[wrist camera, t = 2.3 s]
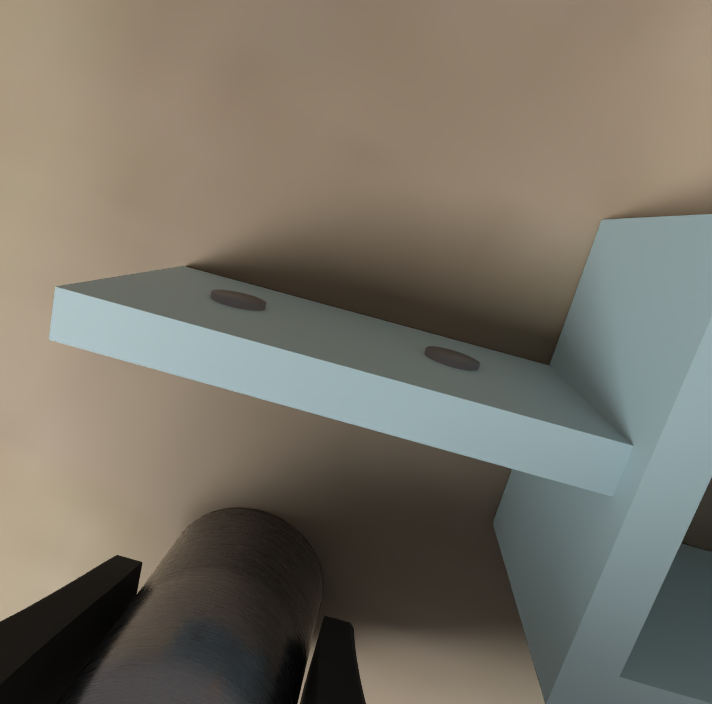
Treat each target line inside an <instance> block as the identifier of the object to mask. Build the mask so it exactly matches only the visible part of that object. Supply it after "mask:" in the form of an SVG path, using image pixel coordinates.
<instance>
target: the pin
mask: <svg viewBox="0 0 712 704" xmlns="http://www.w3.org/2000/svg"><path fill="white" fill-rule="evenodd" d="M322 594H323V576H322V571H321V567H320V563H319V561H318V558H317V556H316V554H315V552H314V551H313V549H312V547H311V546H310V544H309V543H308V542H307V540H306V539H305V538H304V537H303V536H302V535H301V534H300V533H299V532H298V531H297V530H296V529H295V528H293V527H292V526H291V525H290V524H288V523H286V522H285V521H283V520H282V519H280V518H278V517H276V516H274V515H271V514H269V513H266V512H263V511H259V510H254V509H247V508H228V509H222V510H218V511H214V512H211V513H209V514H207V515H204V516H202V517H201V518H199V519H197V520H196V521H194V522H193V523H192V524H191V525H190V526H188V527H187V528H186V530H185V531H184V532H183V533H182V534H181V536H180V537H179V538H178V540H177V541H176V542H175V544H174V545H173V546H172V548H171V549H170V550H169V552H168V553H167V554H166V556H165V557H164V559H163V560H162V561H161V563H160V564H159V565H158V567H157V568H156V569H155V571H154V572H153V573H152V575H151V576H150V577H149V579H148V580H147V581H146V583H145V584H144V586H143V587H142V588H141V590H140V591H139V592H138V594H137V595H136V596H135V598H134V599H133V600H132V602H131V603H130V604H129V606H128V607H127V609H126V610H125V611H124V613H123V614H122V615H121V617H120V618H119V619H118V621H117V622H116V623H115V625H114V626H113V627H112V629H111V630H110V631H109V633H108V634H107V636H106V637H105V638H104V640H103V641H102V642H101V644H100V645H99V646H98V648H97V649H96V650H95V652H94V653H93V654H92V656H91V657H90V659H89V660H88V661H87V663H86V664H85V665H84V667H83V668H82V669H81V671H80V672H79V673H78V675H77V676H76V677H75V679H74V680H73V681H72V683H71V684H70V686H69V687H68V688H67V690H66V691H65V692H64V694H63V695H62V696H61V698H60V699H59V700H58V702H57V703H56V704H297V703H298V699H299V694H300V690H301V686H302V681H303V677H304V673H305V668H306V664H307V660H308V655H309V651H310V647H311V642H312V638H313V634H314V629H315V625H316V621H317V616H318V612H319V608H320V603H321V599H322Z"/></svg>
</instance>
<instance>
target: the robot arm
mask: <svg viewBox="0 0 712 704" xmlns="http://www.w3.org/2000/svg"><path fill="white" fill-rule="evenodd" d="M141 567H142V562H140V561H136V560H133V559H129V558H126V557H122V556H119V555H116V556H115V557H113V558H111V559H109V560H107V561H106V562H104V563H102V564H101V565H99V566H97V567H96V568H94V569H92V570H91V571H89V572H87V573H86V574H84V575H82V576H81V577H79V578H78V579H76V580H74V581H72V582H71V583H69V584H67V585H66V586H64V587H62V588H61V589H59V590H57V591H55V592H54V593H52V594H50V595H48V596H47V597H45V598H43V599H41V600H40V601H38V602H36V603H34V604H33V605H31V606H29V607H27V608H25V609H24V610H22V611H20V612H18V613H16V614H14V615H12V616H10V617H8V618H6V619H4V620H3V621H1V622H0V704H56V703H57V702H58V700H59V699H60V698H61V696H62V695H63V694H64V692H65V691H66V690H67V688H68V687H69V686H70V684H71V683H72V681H73V680H74V679H75V677H76V676H77V675H78V673H79V672H80V671H81V669H82V668H83V667H84V665H85V664H86V663H87V661H88V660H89V659H90V657H91V656H92V654H93V653H94V652H95V650H96V649H97V648H98V646H99V645H100V644H101V642H102V641H103V640H104V638H105V637H106V636H107V634H108V633H109V631H110V630H111V629H112V627H113V626H114V625H115V623H116V622H117V621H118V619H119V618H120V617H121V615H122V614H123V613H124V611H125V610H126V609H127V607H128V606H129V604H130V603H131V602H132V600H133V599H134V598H135V596H136V595H137V589H138V584H139V578H140V573H141ZM300 704H366V703H365V698H364V694H363V690H362V685H361V680H360V675H359V669H358V663H357V657H356V650H355V640H354V628H353V626H352V624H351V623H349V622H346V621H342V620H339V619H336V618H332V617H329V616H325V615H324V619H323V622H322V626H321V629H320V633H319V636H318V640H317V643H316V647H315V650H314V654H313V657H312V661H311V664H310V668H309V671H308V675H307V678H306V682H305V685H304V689H303V693H302V697H301V702H300Z"/></svg>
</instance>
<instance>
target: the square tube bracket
mask: <svg viewBox="0 0 712 704" xmlns="http://www.w3.org/2000/svg"><path fill="white" fill-rule="evenodd" d="M49 340H52V341H55V342H59V343H62V344H66V345H70V346H73V347H77V348H80V349H84V350H88V351H91V352H95V353H98V354H102V355H105V356H109V357H113V358H116V359H120V360H123V361H127V362H131V363H134V364H138V365H141V366H145V367H149V368H152V369H156V370H159V371H163V372H166V373H170V374H174V375H177V376H181V377H184V378H188V379H192V380H195V381H199V382H202V383H206V384H210V385H213V386H217V387H220V388H224V389H227V390H231V391H235V392H238V393H242V394H245V395H249V396H253V397H256V398H260V399H263V400H267V401H271V402H274V403H278V404H281V405H285V406H288V407H292V408H296V409H299V410H303V411H306V412H310V413H314V414H317V415H321V416H324V417H328V418H331V419H335V420H339V421H342V422H346V423H349V424H353V425H357V426H360V427H364V428H367V429H371V430H375V431H378V432H382V433H385V434H389V435H392V436H396V437H400V438H403V439H407V440H410V441H414V442H418V443H421V444H425V445H428V446H432V447H436V448H439V449H443V450H446V451H450V452H453V453H457V454H461V455H464V456H468V457H471V458H475V459H479V460H482V461H486V462H489V463H493V464H496V465H500V466H504V467H507V468H511V469H512V471H511V473H510V476H509V479H508V482H507V484H506V487H505V490H504V493H503V496H502V498H501V501H500V504H499V507H498V509H497V512H496V515H495V518H494V521H493V526H494V530H495V533H496V536H497V540H498V543H499V547H500V550H501V554H502V557H503V560H504V564H505V567H506V571H507V574H508V578H509V581H510V584H511V588H512V591H513V595H514V598H515V601H516V605H517V608H518V612H519V615H520V619H521V622H522V625H523V629H524V632H525V636H526V639H527V643H528V646H529V649H530V653H531V656H532V660H533V663H534V667H535V670H536V673H537V677H538V680H539V684H540V687H541V690H542V694H543V697H544V701H545V704H712V552H710V551H707V550H703V549H700V548H696V547H692V546H689V545H685V544H682V543H681V542H682V540H683V538H684V536H685V534H686V532H687V529H688V527H689V525H690V523H691V521H692V519H693V516H694V514H695V512H696V510H697V508H698V506H699V503H700V501H701V499H702V497H703V495H704V493H705V491H706V488H707V486H708V484H709V482H710V480H711V478H712V214H702V215H682V216H663V217H644V218H624V219H605V220H601V223H600V226H599V229H598V232H597V234H596V237H595V240H594V243H593V245H592V248H591V251H590V254H589V257H588V259H587V262H586V265H585V268H584V270H583V273H582V276H581V279H580V282H579V284H578V287H577V290H576V293H575V295H574V298H573V301H572V304H571V307H570V309H569V312H568V315H567V318H566V320H565V323H564V326H563V329H562V332H561V334H560V337H559V340H558V343H557V345H556V348H555V351H554V354H553V357H552V359H551V362H550V365H546V364H542V363H538V362H535V361H531V360H527V359H524V358H520V357H516V356H513V355H509V354H505V353H502V352H498V351H494V350H491V349H487V348H483V347H480V346H476V345H472V344H469V343H465V342H461V341H458V340H454V339H450V338H447V337H443V336H439V335H436V334H432V333H428V332H424V331H421V330H417V329H413V328H410V327H406V326H402V325H399V324H395V323H391V322H388V321H384V320H380V319H377V318H373V317H369V316H366V315H362V314H358V313H355V312H351V311H347V310H344V309H340V308H336V307H333V306H329V305H325V304H322V303H318V302H314V301H310V300H307V299H303V298H299V297H296V296H292V295H288V294H285V293H281V292H277V291H274V290H270V289H266V288H263V287H259V286H255V285H252V284H248V283H244V282H241V281H237V280H233V279H230V278H226V277H222V276H219V275H215V274H211V273H208V272H204V271H200V270H196V269H193V268H189V267H185V266H180V267H174V268H168V269H161V270H155V271H149V272H143V273H137V274H130V275H124V276H118V277H112V278H106V279H100V280H93V281H87V282H81V283H75V284H69V285H62V286H56V287H55V293H54V301H53V310H52V318H51V326H50V335H49Z"/></svg>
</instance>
